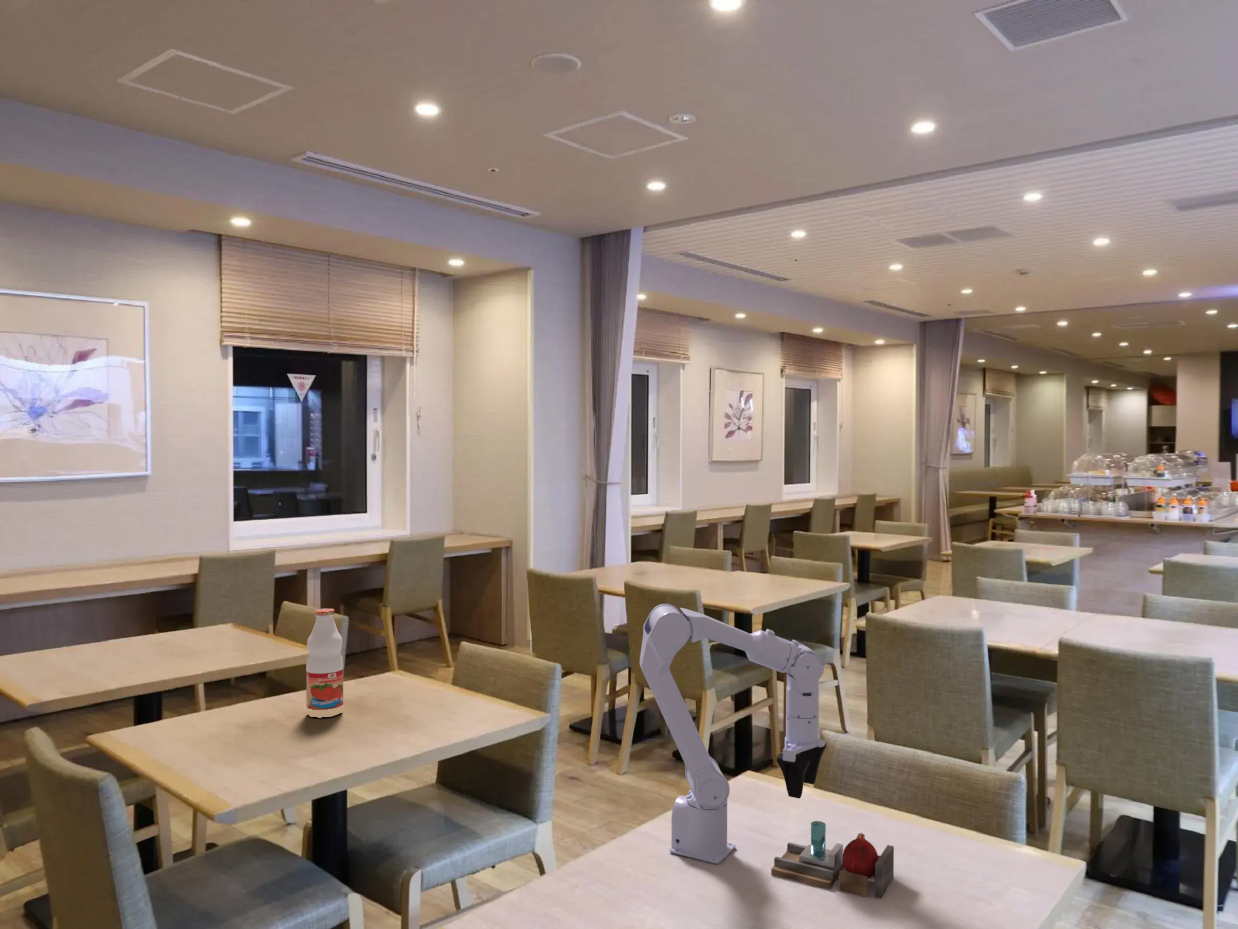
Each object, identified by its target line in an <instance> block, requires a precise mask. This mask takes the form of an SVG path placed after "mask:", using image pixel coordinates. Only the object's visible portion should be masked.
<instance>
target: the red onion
mask: <svg viewBox="0 0 1238 929" xmlns="http://www.w3.org/2000/svg"><path fill="white" fill-rule="evenodd" d="M865 836H866V835H865V834H864V833H863V832H859V833H858V834H857V836H856V838H855V839H852V840H851V841H849V843H847V845H845V847H844V848H843V865H844V867H845V869H844V871H847V872H851V873H855V874H859V875H863V876H868V880H869V879H871V878H872V877H873V876H875V875H874V874H875V864H876V862H877V861H878V859H879V858H878V856H879V855H878V852H877V849H876V848H875V846H874V845H873V844H872V843H871V842H870V841H869V840H867V839H866V838H865Z"/></svg>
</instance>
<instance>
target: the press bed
mask: <svg viewBox="0 0 1238 929" xmlns="http://www.w3.org/2000/svg"><path fill="white" fill-rule="evenodd" d="M807 846H808V845H802V844H799V843H798V844H796V843H792V842H788V843H787V844H786V852H785V853H784V854H783V855H782V856H781V857H780V856H775V857H774V858H773V860H774V861H773V862H774V863H773V866H772V867H771V868H770V872H771V873H770V874H771V875H772V876H776V877H778V878H784V879H787V880H792V881H795V882H799V883H803V884H807V885H812V886H815V887H820V888H822V889H823V888H824V889H827V890H831V888H832V887H833V886H834V884H835V883H836V881H837V880H839V881H838V882H839V884H838V889H839V890H838V891H840V892H842V893H843V892H844V893H847V894H851V895H857V896H861V897H864V898H867V897H868V895H869V879H868V876H863V875H859V874H855V873H851V872H847V871H846V870H845V867H844V865H843V864H842V865H841V866H840V868H839V869H838V870H837V872H836V873H835V875H834V870H830V869H826V868H822V867H818V866H813V865H809V864H805V863H801V862H799V855H800V854H801V853H802V852H803V850H804V849H805V848H806V847H807ZM894 847H895V846H893V845H891V844H890V845H889V844H887V846H886V847H885V848H884V850H883V851H882V853H881V854H880V855H878V858H879V859H878V861H877V862H876V864H875V874H874V875H873V876H874V877H875V878H874V898H876V899H880V900H882V899H883V898H884V896H885V894H886V892H887V890H888V889H889V887H890V886H891V884H892V882H893V880H894V876H895V875H894V874H895V873H894V868H895V867H894V863H895V861H894V859H895V857H894V856H895V853H894V851H895V848H894Z"/></svg>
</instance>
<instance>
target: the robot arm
mask: <svg viewBox="0 0 1238 929" xmlns="http://www.w3.org/2000/svg"><path fill="white" fill-rule="evenodd" d="M680 610H681V612H682V613H681V612H680ZM648 614H649V615H648V616H647V618H646V620H645V621H644V622H643V623H644V624H643V633H642V641H641V649H640V654H639V666H640V669H641V672H642V675H643V676H644V678H645V680H646V682H647V684H648V686H649V689H650V691H651V693H652V695H653V697H654V700H655V701H656V704H657V706H658V708H659V710H660V712H661V714H662V716H663V719H664V720H665V723H666V725H667V728H668V730H669V732H670V735H671V736H672V738H673V740H674V742H675V745H676V746H677V749H678V752H679V753H680V756H681V759H682V760H683V762H684V766H685V779H686V781H687V784H689V786H690V789H689V791H688V792H687V795H679V796H678V797H677V798H676V799H675V801H674V802H673V803H674V804H673V806H672V811H671V840H670V841H671V842H670V843H671V847H670V848H669V852H670V853H671V854H676V855H679V856H684V857H687V858H692V859H695V860H699V861H703V862H707V863H711V864H715V865H716V864H717V865H718V864H720V863H721V862H722V861H723V860H724V859H725V858H726V857H727V856H728V855H729V854H730V853H731V852H732V851H734V849H735V848H736V844H735V843H731V842H728V798H729V796H730V793H731V792H730V790H731V788H730V784H729V781H728V780H727V778H726V777H725V776H724V774H723V772H722V771H721V769H720V766H719V764H718V762H717V761H716V760H715V759H714V758H713V757H712V756H710V753H709V752H708V750H707V748H706V745H705V744H704V741H703V740H702V736H701V735H700V733H699V730H698V729H697V726H696V724H695V722H694V720H693V717H692V715H691V714H690V711H689V709H688V706H687V705H686V703H685V700H684V698H683V696H682V694H681V692H680V690H679V687H678V685H677V682H676V681H675V678H674V676H673V675H672V673H671V670H670V666H671V665H672V662H673V660H674V658H675V656H676V655H677V653H678V652H680V651H681V649H682V648H683V647H684V646H685V645H686V644H687V642H688V641H690V642H691V643H693V644H694V643H696V642H698V641H701V640H703V639H708V640H712V641H714V642H717V643H719V644H723V645H726V646H729V647H733V648H735V649H738V650H741V651H744V652H745V654H746V657H747V659H748V660H749V662H752V663H755V664H757V665H760V666H763V667H766V668H768V669H772V670H773V671H776V672H779V673H783V674H784V673H786V688H785V689H786V691H785V694H786V695H785V698H786V699H785V703H786V704H785V737H784V748H782V753H779V754H778V755H777V756H776V763H777V764H778V766H779V768H780V771H781V772H782V775H783V779H784V782H785V788H786V792H787V795H788V797H789V798H794V799H801V798H802V795H803V789H804V784H810V785H813V786H814V785H815V783H816V779H817V776H818V770H819V766H820V762H821V760H822V758H823V755H824V753H825V751H826V749H827V743H826V740H825V739H821V728H819V726H820V725H819V724H820V723H819V717H820V715H819V714H820V711H819V709H820V708H819V707H820V706H819V705H820V704H819V702H820V689H819V687H820V686H819V680H820V679H821V678H822V676H823V675H824V671H825V666H824V665H823V662H822V661H823V660H822V658H821V657H820V656H819V654H818V653H816V652H815V651H814V650H812V648H810V647H808V646H806V645H804V644H803V643H802V642H799V641H797V640H795V639H792V640H791V641H790V640H789V639H785V638H782V637H779V636H777V635H776V632H775V631H773V630H772V629H769V628H767V629H766V630H765V631H764V630H762V629H759V630H756V631H754V632H752V633H749V632H747V631H745V630H742V629H739V628H737V627H735V626H732V625H730V624H727V623H725V622H723V621H720V620H719V619H718V620H717V619H715V618H712V617H711V616H708V615H706V614H703V613H700V612H698V611H695V610H690V609H689V608H688V609H687V608H683V607H679V609H678V608H677V607H676V606H675V605H672V604H669V603H661V604H659V605H657V606H655V607H653V608H652V610H651V611H650V613H648Z"/></svg>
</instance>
